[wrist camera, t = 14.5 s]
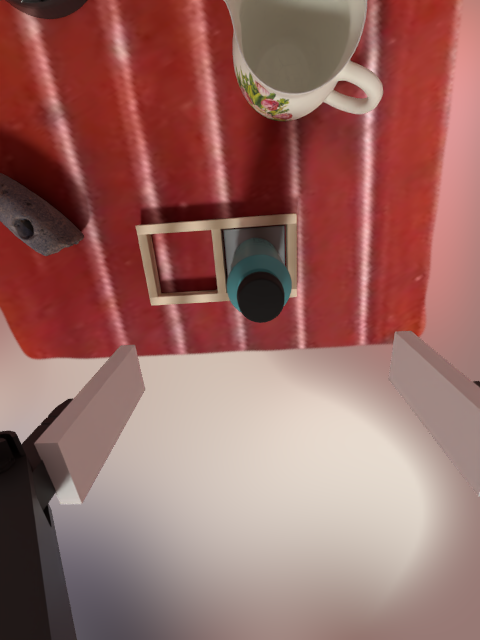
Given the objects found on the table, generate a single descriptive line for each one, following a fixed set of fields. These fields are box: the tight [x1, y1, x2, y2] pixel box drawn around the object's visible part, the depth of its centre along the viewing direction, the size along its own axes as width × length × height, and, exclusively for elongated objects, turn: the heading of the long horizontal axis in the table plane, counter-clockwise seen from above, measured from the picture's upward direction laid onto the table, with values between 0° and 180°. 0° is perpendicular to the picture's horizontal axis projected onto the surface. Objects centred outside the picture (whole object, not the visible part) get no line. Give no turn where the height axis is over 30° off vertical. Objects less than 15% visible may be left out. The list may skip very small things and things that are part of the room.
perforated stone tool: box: [0, 173, 84, 256], centre depth 38 cm, size 15×5×7 cm, turn 46°
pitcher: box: [224, 0, 383, 121], centre depth 29 cm, size 11×18×14 cm, turn 63°
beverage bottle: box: [227, 237, 292, 323], centre depth 33 cm, size 6×7×20 cm
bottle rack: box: [136, 213, 297, 305], centre depth 42 cm, size 22×11×2 cm, turn 94°
